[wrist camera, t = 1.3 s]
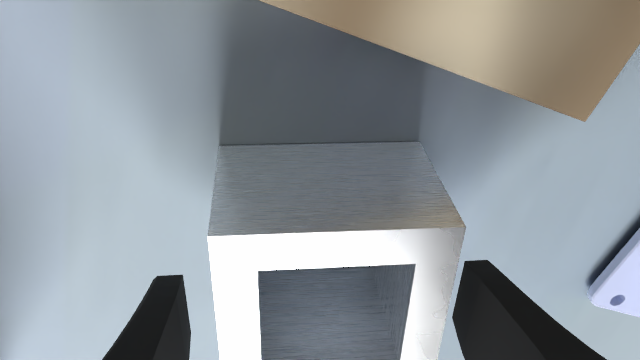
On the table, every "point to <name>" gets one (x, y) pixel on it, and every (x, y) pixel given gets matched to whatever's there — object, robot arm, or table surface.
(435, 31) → the post board
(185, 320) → the robot arm
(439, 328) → the steel collar
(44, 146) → the table surface
